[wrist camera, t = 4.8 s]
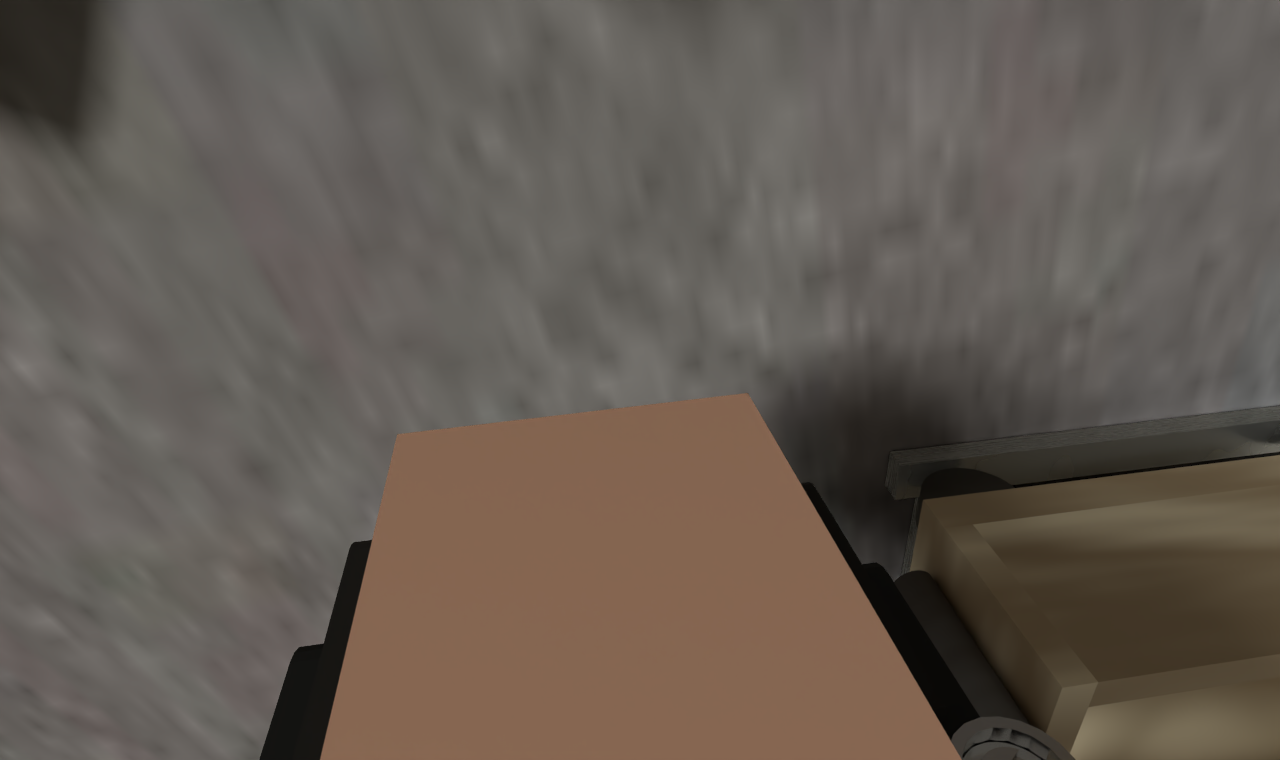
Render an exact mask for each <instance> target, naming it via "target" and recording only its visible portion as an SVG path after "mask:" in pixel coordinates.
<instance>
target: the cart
mask: <svg viewBox="0 0 1280 760" xmlns="http://www.w3.org/2000/svg"><path fill="white" fill-rule="evenodd" d="M916 526H917V528H918V530H917V535H916V540H915V545H914V551H913V556H912V561H911V567H910V572H908V573H905V574H903V575H902V576H900V577H899V578H898V579H897V580H896V581H895V582H894V583H895V585H896V587H897V588H898V590H899V591H900V593H901V594H902V596H903V597H904V599H905V601H906V602H907V604H908V605H909V607H910V608H911V610H912V611H913V613H914V615H915V616H916V618H917V619H918V621H919V622H920V624H921V625H922V627H923V629H924V630H925V632H926V633H927V635H928V636H929V638H930V640H931V641H932V643H933V644H934V646H935V647H936V649H937V650H938V652H939V654H940V655H941V657H942V658H943V660H944V661H945V663H946V664H947V666H948V668H949V669H950V671H951V672H952V674H953V675H954V677H955V678H956V680H957V682H958V683H959V685H960V686H961V688H962V689H963V691H964V693H965V694H966V696H967V697H968V699H969V700H970V702H971V703H972V705H973V707H974V708H975V710H976V711H977V713H978V714H979V716H980V717H996V716H999V717H1004V718H1009V719H1014V720H1019V721H1022V722H1024V723H1026V724H1029V725H1031V726H1033V727H1036V728H1038V729H1040V730H1042V731H1043V732H1045V733H1046V734H1047V735H1049V736H1050V737H1052V738H1053V739H1055V740H1056V741H1058V742H1059V743H1060V744H1061V745H1062V746H1063V747H1064V748H1065V749H1066V750H1067V751H1068V752H1069V753H1070V754H1071V755H1072V756H1073V757H1074V758H1075V759H1076V760H1280V455H1276V456H1268V457H1260V458H1252V459H1244V460H1236V461H1228V462H1220V463H1212V464H1204V465H1196V466H1188V467H1180V468H1172V469H1164V470H1156V471H1148V472H1140V473H1132V474H1124V475H1117V476H1109V477H1101V478H1093V479H1085V480H1077V481H1069V482H1061V483H1053V484H1045V485H1037V486H1029V487H1021V488H1014V487H1013V486H1012V485H1011V484H1009V483H1008V482H1006V481H1004V480H1003V479H1001V478H999V477H997V476H994V475H992V474H989V473H986V472H983V471H979V470H974V469H967V468H948V469H943V470H939V471H936V472H934V473H932V474H930V475H929V476H927V477H926V478H925V480H924V481H923V483H922V486H921V491H920V496H919V501H918V507H917V512H916Z"/></svg>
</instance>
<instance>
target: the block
mask: <svg viewBox="0 0 1280 760" xmlns="http://www.w3.org/2000/svg"><path fill="white" fill-rule="evenodd" d="M320 760H962V759H961V758H960V756H959V754H958V753H957V751H956V749H955V747H954V746H953V744H952V742H951V741H950V739H949V737H948V735H947V734H946V732H945V730H944V729H943V727H942V725H941V723H940V722H939V720H938V718H937V717H936V715H935V713H934V711H933V710H932V708H931V706H930V705H929V703H928V701H927V699H926V698H925V696H924V694H923V693H922V691H921V689H920V687H919V686H918V684H917V682H916V681H915V679H914V677H913V675H912V674H911V672H910V670H909V669H908V667H907V665H906V663H905V662H904V660H903V658H902V657H901V655H900V653H899V651H898V650H897V648H896V646H895V645H894V643H893V641H892V639H891V638H890V636H889V634H888V633H887V631H886V629H885V627H884V626H883V624H882V622H881V621H880V619H879V617H878V615H877V614H876V612H875V610H874V609H873V607H872V605H871V603H870V602H869V600H868V598H867V597H866V595H865V593H864V591H863V590H862V588H861V586H860V585H859V583H858V581H857V579H856V578H855V576H854V574H853V573H852V571H851V569H850V567H849V566H848V564H847V562H846V561H845V559H844V557H843V555H842V554H841V552H840V550H839V549H838V547H837V545H836V543H835V542H834V540H833V538H832V537H831V535H830V533H829V531H828V530H827V528H826V526H825V525H824V523H823V521H822V519H821V518H820V516H819V514H818V513H817V511H816V509H815V507H814V506H813V504H812V502H811V501H810V499H809V497H808V495H807V494H806V492H805V490H804V489H803V487H802V485H801V483H800V482H799V480H798V478H797V477H796V475H795V473H794V472H793V470H792V468H791V466H790V465H789V463H788V461H787V460H786V458H785V456H784V454H783V453H782V451H781V449H780V448H779V446H778V444H777V442H776V441H775V439H774V437H773V436H772V434H771V432H770V430H769V429H768V427H767V425H766V424H765V422H764V420H763V418H762V417H761V415H760V413H759V412H758V410H757V408H756V406H755V405H754V403H753V401H752V400H751V398H750V396H749V394H748V393H745V394H736V395H728V396H719V397H711V398H702V399H694V400H685V401H677V402H668V403H660V404H651V405H643V406H634V407H626V408H617V409H609V410H600V411H591V412H583V413H574V414H566V415H557V416H549V417H540V418H532V419H523V420H515V421H506V422H498V423H489V424H481V425H472V426H464V427H455V428H447V429H438V430H430V431H421V432H413V433H404V434H397V438H396V442H395V446H394V450H393V455H392V459H391V463H390V467H389V472H388V476H387V480H386V484H385V488H384V493H383V497H382V501H381V505H380V509H379V514H378V518H377V522H376V526H375V530H374V535H373V539H372V543H371V547H370V551H369V556H368V560H367V564H366V568H365V573H364V577H363V581H362V585H361V589H360V594H359V598H358V602H357V606H356V610H355V615H354V619H353V623H352V627H351V631H350V636H349V640H348V644H347V648H346V652H345V657H344V661H343V665H342V669H341V674H340V678H339V682H338V686H337V690H336V695H335V699H334V703H333V707H332V711H331V716H330V720H329V724H328V728H327V732H326V737H325V741H324V745H323V749H322V753H321V758H320Z"/></svg>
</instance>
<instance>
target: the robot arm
mask: <svg viewBox="0 0 1280 760" xmlns="http://www.w3.org/2000/svg"><path fill="white" fill-rule="evenodd" d="M801 485H802V487H803V489H804V490H805V492H806V494H807V495H808V497H809V499H810V501H811V502H812V504H813V506H814V507H815V509H816V511H817V513H818V514H819V516H820V518H821V519H822V521H823V523H824V525H825V526H826V528H827V530H828V531H829V533H830V535H831V537H832V538H833V540H834V542H835V543H836V545H837V547H838V549H839V550H840V552H841V554H842V555H843V557H844V559H845V561H846V562H847V564H848V566H849V567H850V569H851V571H852V573H853V574H854V576H855V578H856V579H857V581H858V583H859V585H860V586H861V588H862V590H863V591H864V593H865V595H866V597H867V598H868V600H869V602H870V603H871V605H872V607H873V609H874V610H875V612H876V614H877V615H878V617H879V619H880V621H881V622H882V624H883V626H884V627H885V629H886V631H887V633H888V634H889V636H890V638H891V639H892V641H893V643H894V645H895V646H896V648H897V650H898V651H899V653H900V655H901V657H902V658H903V660H904V662H905V663H906V665H907V667H908V669H909V670H910V672H911V674H912V675H913V677H914V679H915V681H916V682H917V684H918V686H919V687H920V689H921V691H922V693H923V694H924V696H925V698H926V699H927V701H928V703H929V705H930V706H931V708H932V710H933V711H934V713H935V715H936V717H937V718H938V720H939V722H940V723H941V725H942V727H943V729H944V730H945V732H946V734H947V735H948V737H949V739H950V741H951V742H952V744H953V746H954V747H955V749H956V751H957V753H958V754H959V756H960V758H961V759H962V760H1076V759H1075V758H1074V757H1073V756H1072V755H1071V754H1070V753H1069V752H1068V751H1067V750H1066V749H1065V748H1064V747H1063V746H1062V745H1061V744H1060V743H1059V742H1058V741H1056V740H1055V739H1053V738H1052V737H1050V736H1049V735H1047V734H1046V733H1045V732H1043V731H1042V730H1040V729H1038V728H1036V727H1033V726H1031V725H1029V724H1026V723H1024V722H1022V721H1019V720H1014V719H1009V718H1004V717H999V716H996V717H980V716H979V714H978V713H977V711H976V710H975V708H974V707H973V705H972V703H971V702H970V700H969V699H968V697H967V696H966V694H965V693H964V691H963V689H962V688H961V686H960V685H959V683H958V682H957V680H956V678H955V677H954V675H953V674H952V672H951V671H950V669H949V668H948V666H947V664H946V663H945V661H944V660H943V658H942V657H941V655H940V654H939V652H938V650H937V649H936V647H935V646H934V644H933V643H932V641H931V640H930V638H929V636H928V635H927V633H926V632H925V630H924V629H923V627H922V625H921V624H920V622H919V621H918V619H917V618H916V616H915V615H914V613H913V611H912V610H911V608H910V607H909V605H908V604H907V602H906V601H905V599H904V597H903V596H902V594H901V593H900V591H899V590H898V588H897V587H896V585H895V583H894V582H893V580H892V579H891V577H890V576H889V574H888V573H887V572H886V570H885V569H884V568H883V567H882V566H881V565H879V564H878V563H870V564H863V565H862V564H861V562H860V561H859V559H858V557H857V556H856V554H855V552H854V551H853V549H852V547H851V546H850V544H849V543H848V541H847V539H846V538H845V536H844V534H843V533H842V531H841V529H840V528H839V526H838V524H837V523H836V521H835V519H834V518H833V516H832V514H831V513H830V511H829V510H828V508H827V506H826V505H825V503H824V501H823V500H822V498H821V496H820V495H819V493H818V491H817V490H816V488H815V487H814V486H813V484H812V483H809V482H808V483H801ZM371 543H372V540H369V541H361V542H354V543H353V544H352V545H351V547H350V550H349V553H348V557H347V560H346V564H345V568H344V571H343V575H342V579H341V582H340V586H339V590H338V593H337V597H336V601H335V604H334V608H333V612H332V615H331V619H330V623H329V626H328V630H327V634H326V637H325V641H324V644H318V645H311V646H304V647H299V648H298V649H297V650H296V651H295V653H294V655H293V657H292V659H291V662H290V664H289V667H288V671H287V674H286V677H285V680H284V683H283V687H282V690H281V693H280V696H279V699H278V702H277V706H276V709H275V712H274V715H273V718H272V721H271V725H270V728H269V731H268V734H267V737H266V741H265V744H264V747H263V750H262V753H261V756H260V760H320V758H321V753H322V749H323V745H324V741H325V737H326V732H327V728H328V724H329V720H330V716H331V711H332V707H333V703H334V699H335V695H336V690H337V686H338V682H339V678H340V674H341V669H342V665H343V661H344V657H345V652H346V648H347V644H348V640H349V636H350V631H351V627H352V623H353V619H354V615H355V610H356V606H357V602H358V598H359V594H360V589H361V585H362V581H363V577H364V573H365V568H366V564H367V560H368V556H369V551H370V547H371Z"/></svg>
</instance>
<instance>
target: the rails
mask: <svg viewBox="0 0 1280 760" xmlns="http://www.w3.org/2000/svg"><path fill="white" fill-rule="evenodd" d="M1273 452H1280V406H1273V407H1264V408H1256V409H1247V410H1239V411H1230V412H1222V413H1213V414H1205V415H1196V416H1188V417H1180V418H1171V419H1163V420H1154V421H1146V422H1137V423H1129V424H1120V425H1112V426H1103V427H1095V428H1086V429H1078V430H1070V431H1061V432H1053V433H1044V434H1036V435H1027V436H1019V437H1010V438H1002V439H993V440H985V441H976V442H968V443H960V444H951V445H943V446H934V447H926V448H917V449H909V450H900V451H892V452H890V456H889V463H888V469H887V475H886V482H885V486H886V487H887V489H888V490H889V492H890V493H891V495H892V496H893V498H894V499H895V500H898V499H906V498H914V497H915V502H914V508H913V513H912V519H911V524H910V530H909V535H908V541H907V546H906V552H905V557H904V563H903V568H902V574H901V576H902V575H903V574H905V573H908V572H910V567H911V561H912V556H913V551H914V545H915V540H916V535H917V530H918V528H917V526H916V512H917V507H918V501H919V496H920V491H921V486H922V483H923V481H924V480H925V478H926V477H927V476H929V475H930V474H932V473H934V472H936V471H939V470H943V469H948V468H967V469H974V470H979V471H983V472H986V473H989V474H992V475H994V476H997V477H999V478H1001V479H1003V480H1004V481H1006V482H1008V483H1009V484H1011V485H1017V484H1025V483H1033V482H1041V481H1049V480H1057V479H1065V478H1073V477H1081V476H1089V475H1097V474H1105V473H1113V472H1121V471H1129V470H1137V469H1145V468H1153V467H1161V466H1169V465H1177V464H1185V463H1193V462H1201V461H1209V460H1217V459H1225V458H1233V457H1241V456H1249V455H1257V454H1265V453H1273Z"/></svg>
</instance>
